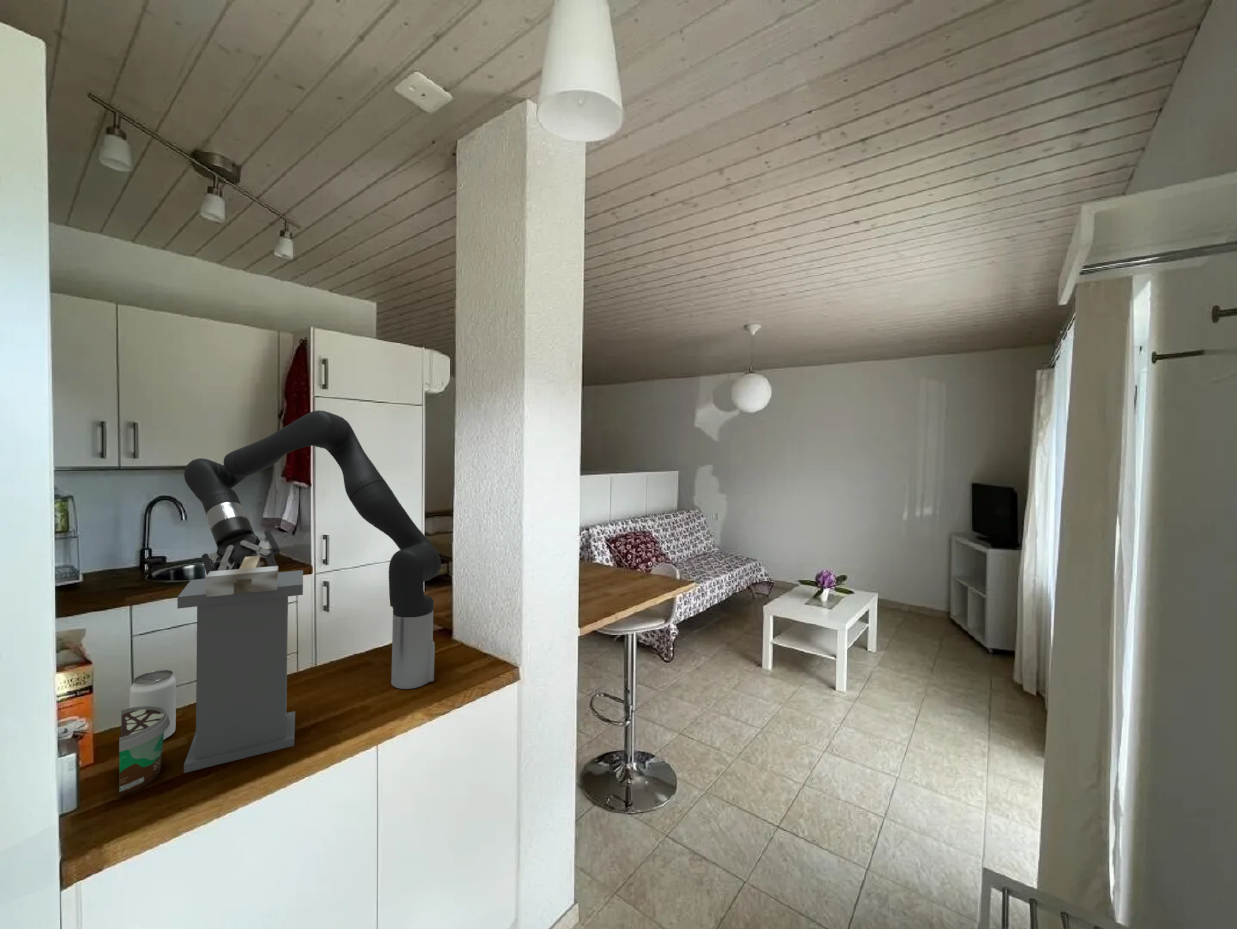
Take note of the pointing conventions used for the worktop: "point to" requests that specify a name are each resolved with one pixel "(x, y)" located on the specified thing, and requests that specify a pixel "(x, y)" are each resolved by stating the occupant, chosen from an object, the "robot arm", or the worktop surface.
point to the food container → (140, 746)
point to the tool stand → (241, 672)
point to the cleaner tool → (242, 579)
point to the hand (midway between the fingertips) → (251, 579)
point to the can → (156, 694)
